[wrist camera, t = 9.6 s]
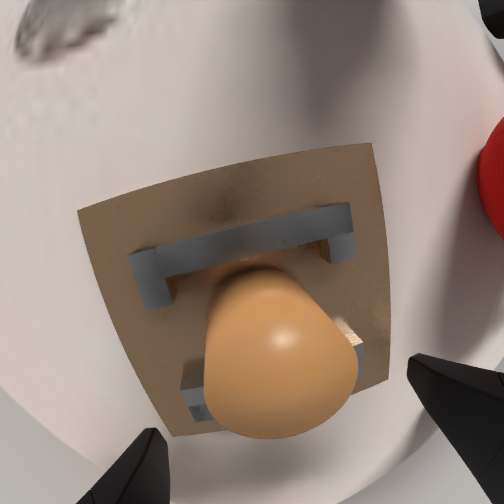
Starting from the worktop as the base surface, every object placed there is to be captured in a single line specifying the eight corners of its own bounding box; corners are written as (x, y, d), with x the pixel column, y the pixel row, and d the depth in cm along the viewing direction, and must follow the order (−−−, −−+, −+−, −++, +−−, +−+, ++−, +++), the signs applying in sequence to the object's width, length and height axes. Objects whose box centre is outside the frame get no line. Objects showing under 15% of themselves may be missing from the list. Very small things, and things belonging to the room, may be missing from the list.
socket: (366, 143, 14) (385, 138, 12) (385, 375, 18) (398, 390, 16) (81, 209, 13) (63, 213, 11) (173, 431, 16) (170, 451, 14)
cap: (302, 256, 14) (355, 298, 8) (316, 346, 16) (358, 413, 10) (194, 283, 14) (180, 344, 8) (222, 371, 15) (228, 450, 9)
